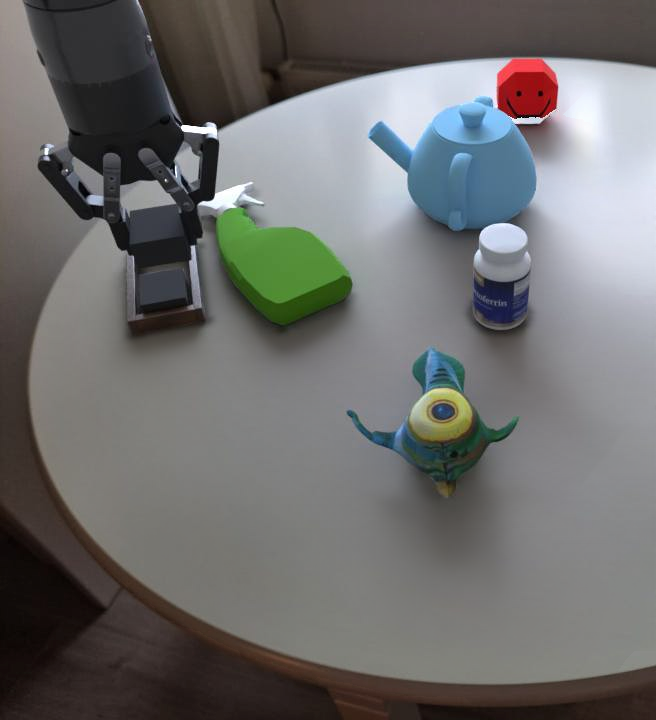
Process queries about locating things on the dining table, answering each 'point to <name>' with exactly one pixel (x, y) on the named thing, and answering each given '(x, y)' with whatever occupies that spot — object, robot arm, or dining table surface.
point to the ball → (527, 89)
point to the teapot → (465, 165)
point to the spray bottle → (275, 261)
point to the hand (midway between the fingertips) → (163, 244)
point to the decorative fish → (440, 424)
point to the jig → (164, 317)
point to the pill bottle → (501, 277)
